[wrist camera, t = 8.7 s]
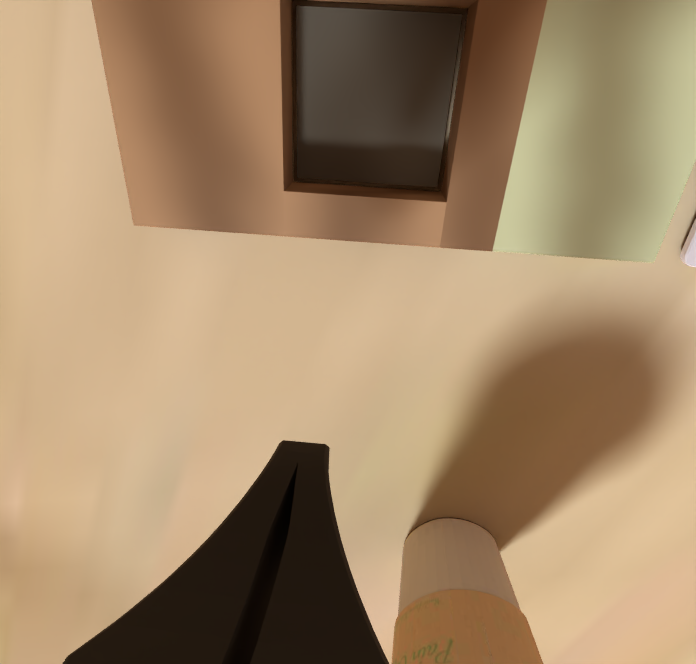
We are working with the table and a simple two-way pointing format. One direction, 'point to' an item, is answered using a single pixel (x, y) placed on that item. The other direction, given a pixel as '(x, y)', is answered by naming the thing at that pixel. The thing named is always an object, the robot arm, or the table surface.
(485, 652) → the coffee cup
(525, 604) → the table surface
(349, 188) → the trap board
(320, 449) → the robot arm
